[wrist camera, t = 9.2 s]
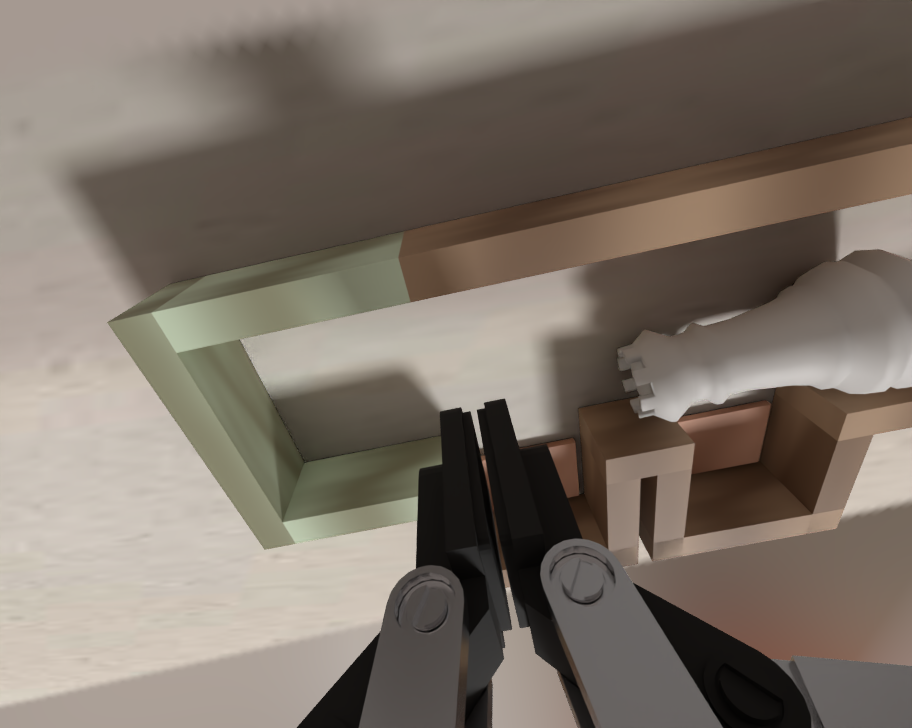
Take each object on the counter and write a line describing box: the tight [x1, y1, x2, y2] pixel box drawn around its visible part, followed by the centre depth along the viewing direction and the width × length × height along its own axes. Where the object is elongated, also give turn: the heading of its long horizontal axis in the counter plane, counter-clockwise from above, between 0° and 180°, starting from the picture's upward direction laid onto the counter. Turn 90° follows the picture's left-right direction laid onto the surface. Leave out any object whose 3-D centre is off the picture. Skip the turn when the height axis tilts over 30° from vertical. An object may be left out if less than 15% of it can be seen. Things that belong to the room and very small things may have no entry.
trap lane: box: [107, 117, 912, 588], centre depth 15 cm, size 29×14×3 cm, turn 101°
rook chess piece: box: [617, 249, 912, 422], centre depth 14 cm, size 4×4×8 cm
